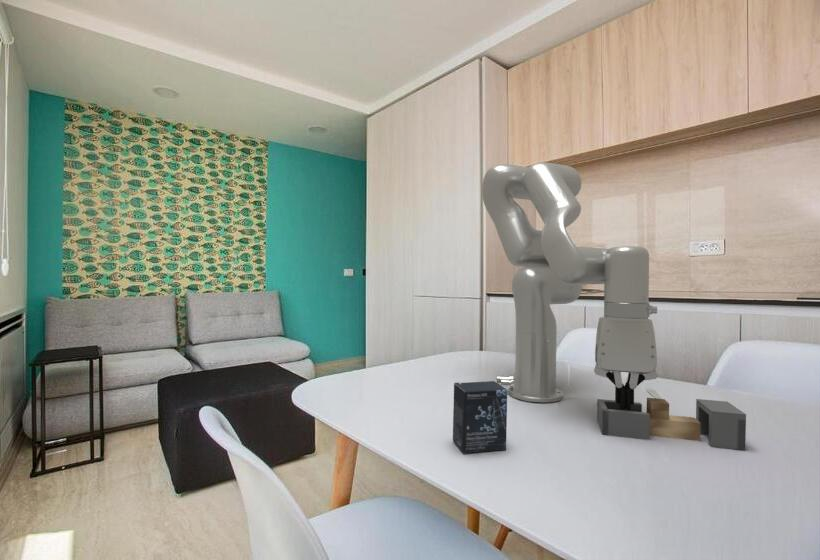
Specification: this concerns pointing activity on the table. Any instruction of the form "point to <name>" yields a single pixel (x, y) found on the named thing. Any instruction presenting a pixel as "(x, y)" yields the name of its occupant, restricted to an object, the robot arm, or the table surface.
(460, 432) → the box
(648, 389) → the butter knife
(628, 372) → the robot arm
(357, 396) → the table surface
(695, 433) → the slat
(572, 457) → the table surface
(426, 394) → the table surface
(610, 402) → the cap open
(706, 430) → the channel bracket
